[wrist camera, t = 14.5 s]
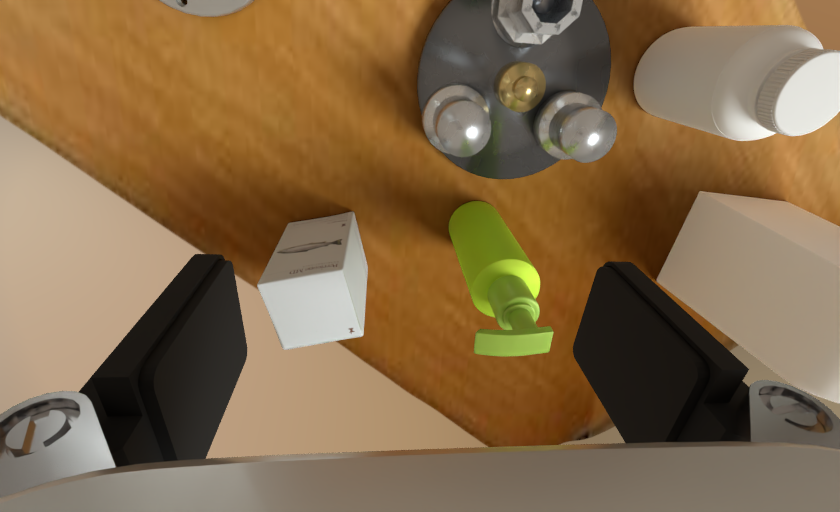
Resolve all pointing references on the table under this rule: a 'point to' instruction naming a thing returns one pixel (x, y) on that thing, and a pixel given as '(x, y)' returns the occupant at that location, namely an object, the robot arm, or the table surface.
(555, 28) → the octagonal collar pipe
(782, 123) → the pill bottle
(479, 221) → the soap dispenser
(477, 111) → the carrier
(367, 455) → the robot arm
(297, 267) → the supplement box
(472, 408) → the table surface
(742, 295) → the milk
